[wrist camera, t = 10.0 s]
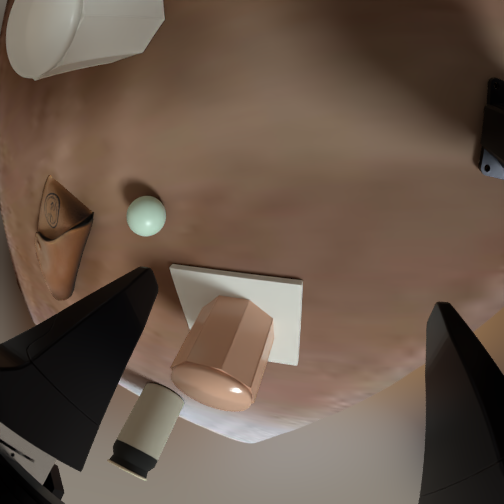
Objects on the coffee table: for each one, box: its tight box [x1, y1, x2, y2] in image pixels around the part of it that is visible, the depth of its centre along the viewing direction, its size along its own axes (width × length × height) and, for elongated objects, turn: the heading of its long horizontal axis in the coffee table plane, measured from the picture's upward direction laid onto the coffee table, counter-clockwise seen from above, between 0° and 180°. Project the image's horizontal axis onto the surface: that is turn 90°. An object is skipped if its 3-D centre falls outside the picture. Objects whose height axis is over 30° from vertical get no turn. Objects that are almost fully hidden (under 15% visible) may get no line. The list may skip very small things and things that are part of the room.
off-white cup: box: [6, 0, 165, 81], centre depth 11 cm, size 7×7×8 cm
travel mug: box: [107, 383, 184, 481], centre depth 43 cm, size 8×8×18 cm
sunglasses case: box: [35, 175, 94, 300], centre depth 30 cm, size 18×7×7 cm
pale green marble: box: [127, 196, 166, 236], centre depth 22 cm, size 3×3×3 cm
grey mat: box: [169, 264, 303, 366], centre depth 29 cm, size 12×12×1 cm
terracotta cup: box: [170, 295, 275, 412], centre depth 25 cm, size 7×7×8 cm
